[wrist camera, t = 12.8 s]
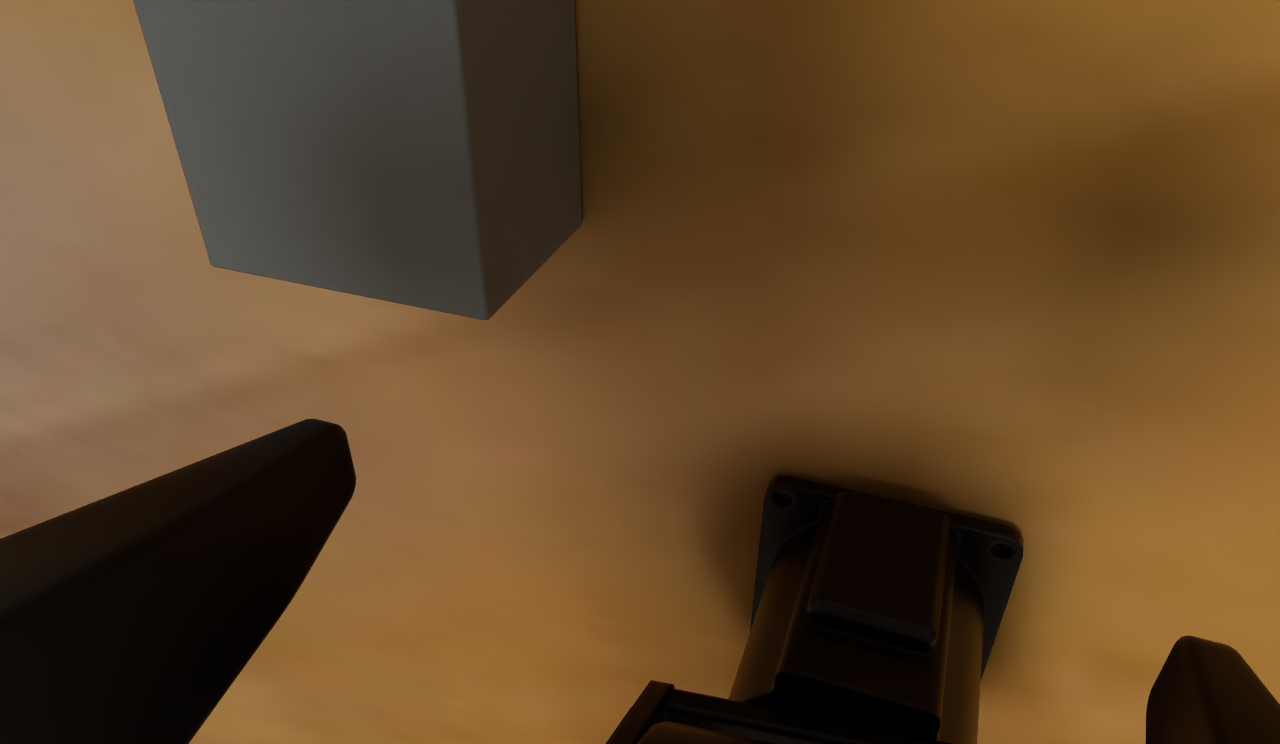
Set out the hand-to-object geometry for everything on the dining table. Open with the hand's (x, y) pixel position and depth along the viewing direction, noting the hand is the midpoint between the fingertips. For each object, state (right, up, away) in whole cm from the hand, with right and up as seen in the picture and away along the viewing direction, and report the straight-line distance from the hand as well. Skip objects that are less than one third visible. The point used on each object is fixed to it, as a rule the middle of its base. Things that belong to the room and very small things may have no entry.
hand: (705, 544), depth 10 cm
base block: (-5, +9, +12) cm, 16 cm away
